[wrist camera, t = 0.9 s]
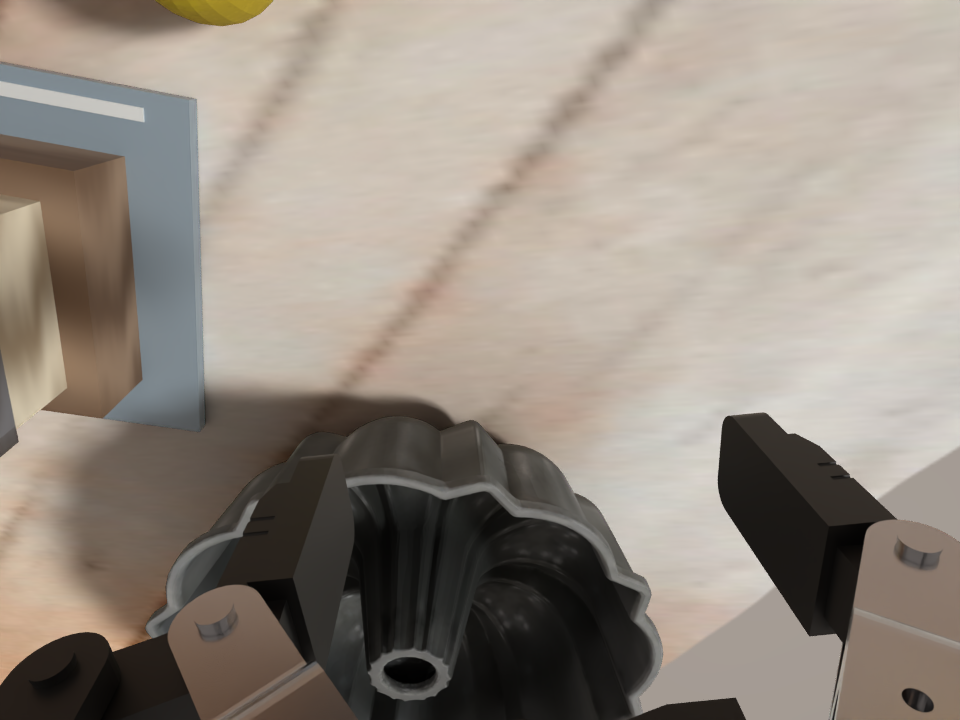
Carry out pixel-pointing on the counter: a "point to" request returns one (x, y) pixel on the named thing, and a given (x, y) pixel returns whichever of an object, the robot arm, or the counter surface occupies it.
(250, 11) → the lemon
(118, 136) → the board
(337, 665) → the bundt pan
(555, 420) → the counter surface
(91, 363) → the block tower
